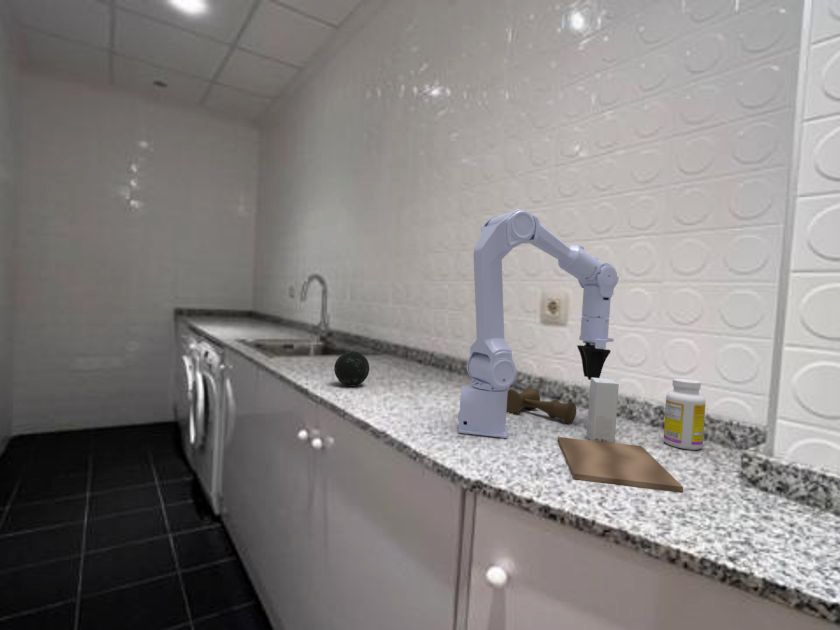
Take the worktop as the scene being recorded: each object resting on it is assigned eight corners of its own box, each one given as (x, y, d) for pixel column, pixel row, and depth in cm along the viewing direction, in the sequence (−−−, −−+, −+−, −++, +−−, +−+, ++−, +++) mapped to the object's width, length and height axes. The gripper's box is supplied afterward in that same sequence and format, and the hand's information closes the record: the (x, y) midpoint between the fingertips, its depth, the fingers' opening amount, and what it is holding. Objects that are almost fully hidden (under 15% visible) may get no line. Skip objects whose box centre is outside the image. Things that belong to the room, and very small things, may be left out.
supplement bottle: (699, 444, 88) (704, 380, 87) (705, 453, 82) (710, 385, 81) (661, 437, 91) (666, 376, 90) (664, 446, 85) (669, 380, 84)
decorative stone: (327, 386, 123) (329, 351, 123) (342, 381, 133) (344, 348, 133) (360, 390, 121) (362, 354, 120) (373, 384, 130) (375, 351, 130)
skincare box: (615, 446, 83) (619, 383, 82) (591, 444, 84) (595, 381, 83) (608, 437, 89) (612, 378, 88) (585, 435, 90) (589, 376, 89)
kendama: (560, 430, 95) (487, 407, 109) (581, 424, 101) (509, 404, 116) (563, 402, 94) (489, 383, 109) (584, 398, 101) (512, 381, 115)
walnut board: (573, 478, 66) (574, 473, 66) (557, 441, 84) (557, 436, 84) (682, 492, 63) (683, 486, 63) (640, 450, 82) (641, 445, 82)
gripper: (623, 319, 89) (618, 385, 90) (606, 317, 104) (602, 374, 104) (587, 317, 91) (582, 382, 91) (575, 316, 105) (571, 372, 105)
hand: (591, 378), depth 98 cm, fingers open, 4 cm apart
